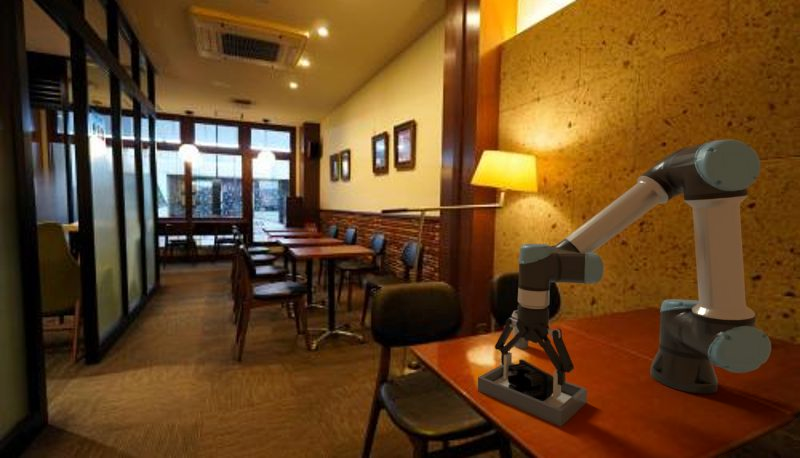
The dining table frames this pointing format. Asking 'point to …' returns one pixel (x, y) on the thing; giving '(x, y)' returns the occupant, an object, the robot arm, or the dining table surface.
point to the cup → (522, 343)
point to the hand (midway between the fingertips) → (530, 386)
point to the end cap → (531, 380)
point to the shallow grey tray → (547, 409)
